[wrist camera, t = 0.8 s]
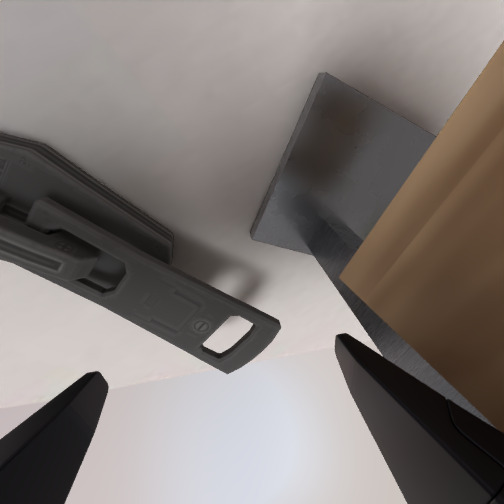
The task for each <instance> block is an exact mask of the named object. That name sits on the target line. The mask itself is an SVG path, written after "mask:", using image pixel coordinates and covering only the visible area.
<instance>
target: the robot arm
mask: <svg viewBox="0 0 504 504" xmlns="http://www.w3.org/2000/svg"><path fill="white" fill-rule="evenodd" d="M335 353H336V356H337V359H338V362H339V365H340V367H341V370H342V372H343V375H344V378H345V380H346V383H347V385H348V388H349V390H350V393H351V395H352V397H353V399H354V401H355V402H356V405H357V407H358V408H359V411H360V412H361V414H362V416H363V418H364V420H365V422H366V424H367V426H368V428H369V430H370V432H371V434H372V436H373V437H374V439H375V441H376V443H377V445H378V447H379V449H380V451H381V453H382V455H383V457H384V459H385V461H386V463H387V465H388V467H389V468H390V470H391V472H392V474H393V476H394V478H395V480H396V482H397V484H398V486H399V488H400V490H401V491H402V494H403V495H404V498H405V500H406V502H407V503H408V504H504V433H503V432H501V431H500V430H498V429H496V428H495V427H493V426H491V425H489V424H488V423H486V422H484V421H483V420H481V419H480V418H478V417H476V416H475V415H473V414H472V413H470V412H468V411H467V410H465V409H464V408H462V407H460V406H459V405H457V404H456V403H454V402H453V401H451V400H450V399H446V398H445V397H444V396H443V395H441V394H440V393H438V392H437V391H435V390H434V389H432V388H430V387H429V386H427V385H426V384H424V383H423V382H421V381H420V380H418V379H417V378H415V377H414V376H412V375H410V374H409V373H407V372H406V371H404V370H403V369H401V368H400V367H398V366H397V365H395V364H393V363H392V362H390V361H389V360H387V359H386V358H384V357H383V356H381V355H380V354H378V353H376V352H375V351H373V350H372V349H370V348H369V347H367V346H366V345H364V344H363V343H361V342H360V341H358V340H356V339H355V338H353V337H352V336H350V335H349V334H347V333H344V334H338V335H336V339H335ZM107 393H108V383H107V382H106V380H105V379H104V377H103V376H102V374H101V373H100V372H98V371H95V372H89V373H86V374H85V375H84V376H82V377H81V378H80V379H78V380H77V381H76V382H74V383H73V384H72V385H71V386H69V387H68V388H67V389H65V390H64V391H63V392H61V393H60V394H59V395H58V396H56V397H55V398H54V399H52V400H51V401H50V402H48V403H47V404H46V405H44V406H43V407H42V408H41V409H39V410H38V411H37V412H35V413H34V414H33V415H31V416H30V417H29V418H28V419H26V420H25V421H24V422H22V423H21V424H20V425H18V426H17V427H16V428H15V429H13V430H12V431H11V432H9V433H8V434H7V435H5V436H4V437H3V438H2V439H0V504H64V503H65V501H66V498H67V497H68V494H69V492H70V489H71V487H72V485H73V482H74V480H75V478H76V475H77V473H78V471H79V468H80V466H81V464H82V461H83V459H84V456H85V454H86V452H87V449H88V447H89V445H90V443H91V440H92V437H93V435H94V433H95V430H96V427H97V424H98V421H99V418H100V415H101V412H102V408H103V405H104V402H105V399H106V396H107Z"/></svg>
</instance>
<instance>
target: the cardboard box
mask: <svg viewBox="0 0 504 504" xmlns="http://www.w3.org/2000/svg"><path fill="white" fill-rule="evenodd" d="M338 278H339V279H341V280H342V281H343V282H344V283H345V284H346V285H347V286H348V287H349V288H350V289H351V290H352V291H353V292H354V293H355V294H356V295H357V296H358V297H359V298H360V299H361V300H363V301H364V302H365V303H366V304H367V305H368V306H369V307H370V308H371V309H372V310H373V311H374V312H375V313H376V314H377V315H378V316H379V317H380V318H381V319H382V320H383V321H385V322H386V323H387V324H388V325H389V326H390V327H391V328H392V329H393V330H394V331H395V332H396V333H397V334H398V335H399V336H400V337H401V338H402V339H403V340H404V341H405V342H407V343H408V344H409V345H410V346H411V347H412V348H413V349H414V350H415V351H416V352H417V353H418V354H419V355H420V356H421V357H422V358H423V359H424V360H425V361H426V362H428V363H429V364H430V365H431V366H432V367H433V368H434V369H435V370H436V371H437V372H438V373H439V374H440V375H441V376H442V377H443V378H444V379H445V380H446V381H447V382H448V383H450V384H451V385H452V386H453V387H454V388H455V389H456V390H457V391H458V392H459V393H460V394H461V395H462V396H463V397H464V398H465V399H466V400H467V401H468V402H469V403H470V404H472V405H473V406H474V407H475V408H476V409H477V410H478V411H479V412H480V413H481V414H482V415H483V416H484V417H485V418H486V419H487V420H488V421H489V422H490V423H491V424H492V425H494V426H495V427H496V428H497V429H498V430H500V431H501V432H503V433H504V41H503V42H502V44H501V45H500V47H499V48H498V50H497V51H496V52H495V54H494V55H493V57H492V58H491V60H490V61H489V62H488V64H487V65H486V67H485V68H484V70H483V71H482V73H481V74H480V75H479V77H478V78H477V80H476V81H475V83H474V84H473V85H472V87H471V88H470V90H469V91H468V93H467V94H466V95H465V97H464V98H463V100H462V101H461V103H460V104H459V105H458V107H457V108H456V110H455V111H454V113H453V114H452V115H451V117H450V118H449V120H448V121H447V123H446V124H445V126H444V127H443V128H442V130H441V131H440V133H439V134H438V136H437V137H436V138H435V140H434V141H433V143H432V144H431V146H430V147H429V148H428V150H427V151H426V153H425V154H424V156H423V157H422V158H421V160H420V161H419V163H418V164H417V166H416V167H415V168H414V170H413V171H412V173H411V174H410V176H409V177H408V179H407V180H406V181H405V183H404V184H403V186H402V187H401V189H400V190H399V191H398V193H397V194H396V196H395V197H394V199H393V200H392V201H391V203H390V204H389V206H388V207H387V209H386V210H385V211H384V213H383V214H382V216H381V217H380V219H379V220H378V221H377V223H376V224H375V226H374V227H373V229H372V230H371V232H370V233H369V234H368V236H367V237H366V239H365V240H364V242H363V243H362V244H361V246H360V247H359V249H358V250H357V252H356V253H355V254H354V256H353V257H352V259H351V260H350V262H349V263H348V264H347V266H346V267H345V269H344V270H343V272H342V273H341V274H340V276H339V277H338Z"/></svg>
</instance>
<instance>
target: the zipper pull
mask: <svg viewBox="0 0 504 504" xmlns="http://www.w3.org/2000/svg"><path fill="white" fill-rule="evenodd" d="M172 257H173V234H172V233H171V232H170V231H169V230H168V229H166V228H165V227H163V226H162V225H161V224H159V223H158V222H156V221H155V220H153V219H152V218H150V217H149V216H148V215H146V214H145V213H143V212H142V211H140V210H139V209H137V208H136V207H135V206H133V205H132V204H130V203H129V202H127V201H126V200H124V199H123V198H121V197H120V196H119V195H117V194H116V193H114V192H113V191H111V190H110V189H108V188H107V187H106V186H104V185H103V184H101V183H100V182H98V181H97V180H95V179H94V178H93V177H91V176H90V175H88V174H87V173H85V172H84V171H83V170H81V169H80V168H78V167H77V166H76V165H74V164H73V163H71V162H70V161H69V160H67V159H66V158H64V157H63V156H62V155H60V154H59V153H57V152H56V151H55V150H53V149H52V148H51V147H49V146H48V145H46V144H42V143H38V142H34V141H30V140H26V139H22V138H18V137H14V136H10V135H6V134H2V133H0V260H4V261H7V262H11V263H14V264H16V265H18V266H20V267H22V268H24V269H26V270H28V271H30V272H32V273H34V274H37V275H39V276H41V277H43V278H45V279H47V280H49V281H51V282H53V283H55V284H57V285H59V286H61V287H63V288H66V289H68V290H70V291H72V292H74V293H76V294H78V295H80V296H82V297H84V298H86V299H88V300H90V301H93V302H95V303H97V304H99V305H101V306H103V307H105V308H107V309H108V310H110V311H112V312H114V313H116V314H118V315H120V316H121V317H123V318H125V319H127V320H129V321H131V322H132V323H134V324H136V325H138V326H140V327H142V328H144V329H145V330H147V331H149V332H151V333H153V334H155V335H156V336H158V337H160V338H162V339H164V340H166V341H168V342H169V343H171V344H173V345H175V346H177V347H179V348H180V349H182V350H184V351H186V352H188V353H190V354H191V355H193V356H195V357H197V358H198V359H200V360H202V361H204V362H206V363H208V364H209V365H211V366H213V367H215V368H217V369H219V370H221V371H223V372H224V373H226V374H229V373H231V372H233V371H235V370H237V369H239V368H241V367H242V366H244V365H245V364H247V363H248V362H250V361H251V360H252V359H254V358H255V357H256V356H257V355H258V354H260V353H261V352H262V351H263V350H264V349H265V348H266V347H267V346H268V345H269V344H270V343H271V342H272V341H273V339H274V338H275V336H276V335H277V333H278V332H279V330H280V329H281V325H280V322H279V320H278V319H276V318H274V317H272V316H270V315H268V314H266V313H264V312H262V311H260V310H258V309H256V308H254V307H252V306H250V305H248V304H246V303H244V302H242V301H240V300H238V299H236V298H234V297H232V296H230V295H228V294H226V293H224V292H222V291H220V290H218V289H216V288H214V287H212V286H210V285H208V284H206V283H204V282H202V281H200V280H198V279H196V278H194V277H192V276H190V275H188V274H186V273H184V272H182V271H180V270H178V269H176V268H174V267H172V266H171V264H172ZM230 316H241V317H243V318H244V319H246V320H248V321H250V322H251V323H253V326H252V327H251V329H250V330H249V331H248V332H247V333H246V334H245V335H244V336H243V337H242V338H241V339H240V340H239V341H238V342H236V343H235V344H234V345H233V346H232V347H231V348H229V349H228V350H226V351H224V352H222V353H217V352H215V351H213V350H210V349H208V348H206V347H204V346H203V343H204V342H205V341H206V340H207V339H208V338H209V337H210V336H211V335H212V334H213V333H214V332H215V331H216V330H217V329H218V328H219V327H220V326H221V325H222V324H223V323H224V322H225V321H226V320H227V319H228V318H229V317H230Z"/></svg>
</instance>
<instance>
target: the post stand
mask: <svg viewBox="0 0 504 504" xmlns="http://www.w3.org/2000/svg"><path fill="white" fill-rule="evenodd" d="M435 138H436V136H434V135H432V134H431V133H429V132H427V131H425V130H424V129H422V128H420V127H419V126H417V125H415V124H413V123H412V122H410V121H408V120H407V119H405V118H403V117H402V116H400V115H398V114H396V113H395V112H393V111H391V110H390V109H388V108H386V107H385V106H383V105H381V104H379V103H378V102H376V101H374V100H373V99H371V98H369V97H367V96H366V95H364V94H362V93H361V92H359V91H357V90H356V89H354V88H352V87H350V86H349V85H347V84H345V83H344V82H342V81H340V80H338V79H337V78H335V77H333V76H332V75H330V74H328V73H327V72H326V73H319V74H318V77H317V79H316V81H315V84H314V86H313V88H312V91H311V93H310V95H309V98H308V100H307V102H306V105H305V107H304V109H303V111H302V114H301V116H300V118H299V121H298V123H297V125H296V128H295V130H294V132H293V135H292V137H291V139H290V142H289V144H288V146H287V149H286V151H285V153H284V155H283V158H282V160H281V162H280V165H279V167H278V169H277V172H276V174H275V176H274V179H273V181H272V183H271V186H270V188H269V190H268V192H267V195H266V197H265V199H264V202H263V204H262V206H261V209H260V211H259V213H258V216H257V218H256V220H255V223H254V225H253V227H252V230H251V232H250V235H251V238H252V240H255V241H259V242H263V243H267V244H271V245H275V246H279V247H282V248H286V249H290V250H294V251H298V252H302V253H306V254H309V255H313V256H314V257H315V258H316V260H317V261H318V262H319V264H320V265H321V267H322V268H323V270H324V271H325V273H326V274H327V275H328V277H329V278H330V280H331V281H332V283H333V284H334V286H335V287H336V289H337V290H338V291H339V293H340V294H341V296H342V297H343V299H344V300H345V302H346V303H347V304H348V306H349V307H350V309H351V310H352V312H353V313H354V315H355V316H356V317H357V319H358V320H359V322H360V323H361V325H362V326H363V328H364V329H365V331H366V332H367V333H368V335H369V336H370V338H371V339H372V341H373V342H374V343H375V345H376V346H377V348H378V349H379V351H380V352H381V354H382V355H383V357H384V358H386V359H387V360H389V361H390V362H392V363H393V364H395V365H397V366H398V367H400V368H401V369H403V370H404V371H406V372H407V373H409V374H410V375H412V376H414V377H415V378H417V379H418V380H420V381H421V382H423V383H424V384H426V385H427V386H429V387H430V388H432V389H434V390H435V391H437V392H438V393H440V394H441V395H443V396H444V397H445V398H446V399H450V400H451V401H453V402H454V403H456V404H457V405H459V406H460V407H462V408H464V409H465V410H467V411H468V412H470V413H472V414H473V415H475V416H476V417H478V418H480V419H481V420H483V421H484V422H486V423H488V424H489V425H491V426H493V427H495V426H494V425H492V424H491V423H490V422H489V421H488V420H487V419H486V418H485V417H484V416H483V415H482V414H481V413H480V412H479V411H478V410H477V409H476V408H475V407H474V406H473V405H472V404H470V403H469V402H468V401H467V400H466V399H465V398H464V397H463V396H462V395H461V394H460V393H459V392H458V391H457V390H456V389H455V388H454V387H453V386H452V385H451V384H450V383H448V382H447V381H446V380H445V379H444V378H443V377H442V376H441V375H440V374H439V373H438V372H437V371H436V370H435V369H434V368H433V367H432V366H431V365H430V364H429V363H428V362H426V361H425V360H424V359H423V358H422V357H421V356H420V355H419V354H418V353H417V352H416V351H415V350H414V349H413V348H412V347H411V346H410V345H409V344H408V343H407V342H405V341H404V340H403V339H402V338H401V337H400V336H399V335H398V334H397V333H396V332H395V331H394V330H393V329H392V328H391V327H390V326H389V325H388V324H387V323H386V322H385V321H383V320H382V319H381V318H380V317H379V316H378V315H377V314H376V313H375V312H374V311H373V310H372V309H371V308H370V307H369V306H368V305H367V304H366V303H365V302H364V301H363V300H361V299H360V298H359V297H358V296H357V295H356V294H355V293H354V292H353V291H352V290H351V289H350V288H349V287H348V286H347V285H346V284H345V283H344V282H343V281H342V280H341V279H339V278H338V277H339V276H340V274H341V273H342V272H343V270H344V269H345V267H346V266H347V264H348V263H349V262H350V260H351V259H352V257H353V256H354V254H355V253H356V252H357V250H358V249H359V247H360V246H361V244H362V243H363V242H364V240H365V239H366V237H367V236H368V234H369V233H370V232H371V230H372V229H373V227H374V226H375V224H376V223H377V221H378V220H379V219H380V217H381V216H382V214H383V213H384V211H385V210H386V209H387V207H388V206H389V204H390V203H391V201H392V200H393V199H394V197H395V196H396V194H397V193H398V191H399V190H400V189H401V187H402V186H403V184H404V183H405V181H406V180H407V179H408V177H409V176H410V174H411V173H412V171H413V170H414V168H415V167H416V166H417V164H418V163H419V161H420V160H421V158H422V157H423V156H424V154H425V153H426V151H427V150H428V148H429V147H430V146H431V144H432V143H433V141H434V140H435ZM495 428H496V427H495ZM496 429H497V428H496Z"/></svg>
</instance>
